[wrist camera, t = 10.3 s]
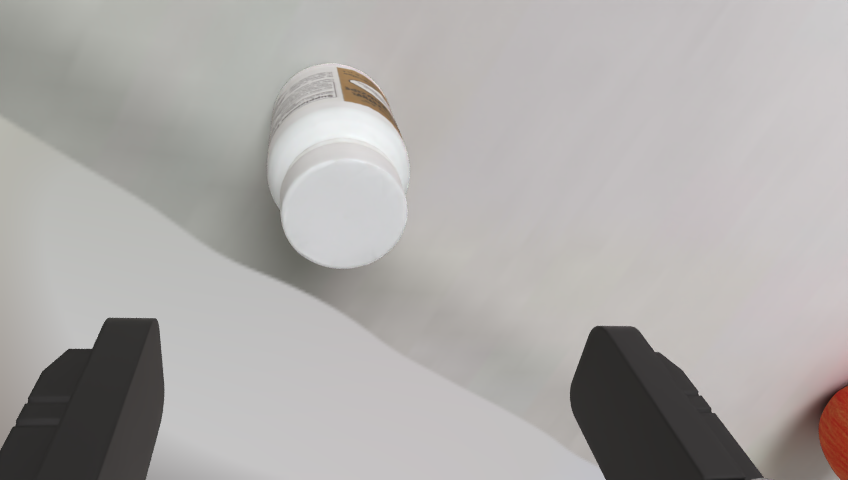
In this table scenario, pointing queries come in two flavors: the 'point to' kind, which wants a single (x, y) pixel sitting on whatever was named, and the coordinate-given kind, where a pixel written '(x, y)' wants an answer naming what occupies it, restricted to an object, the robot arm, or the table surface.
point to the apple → (836, 433)
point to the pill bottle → (337, 167)
